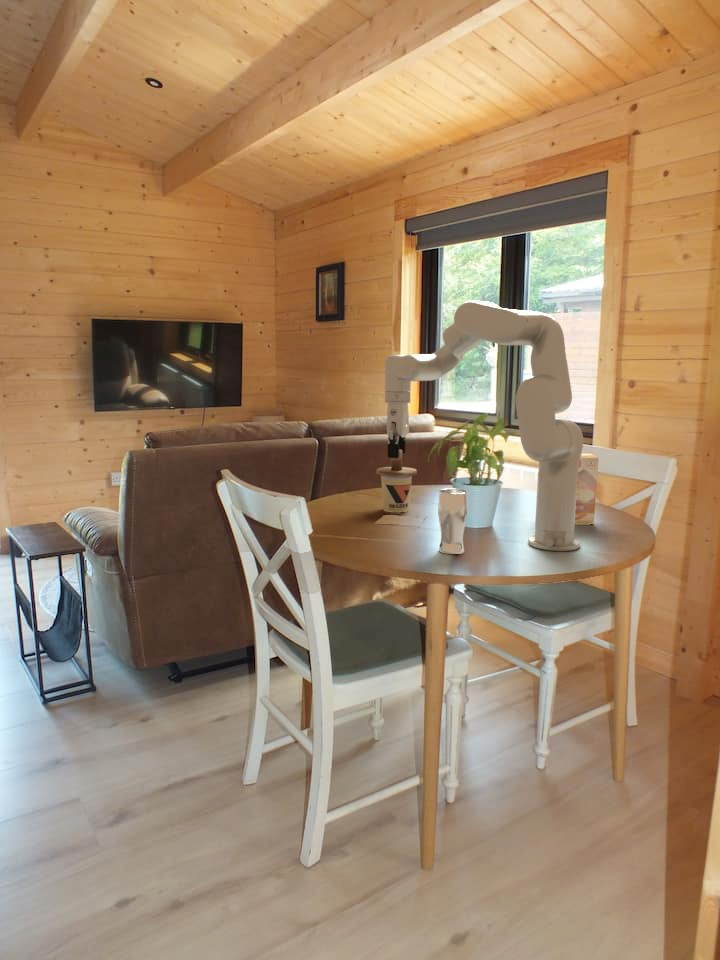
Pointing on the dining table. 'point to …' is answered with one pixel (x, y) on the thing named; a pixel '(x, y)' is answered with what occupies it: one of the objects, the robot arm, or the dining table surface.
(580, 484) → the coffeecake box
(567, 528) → the robot arm
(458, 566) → the dining table surface
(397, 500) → the coffee cup
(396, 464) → the lid
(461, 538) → the beer glass
